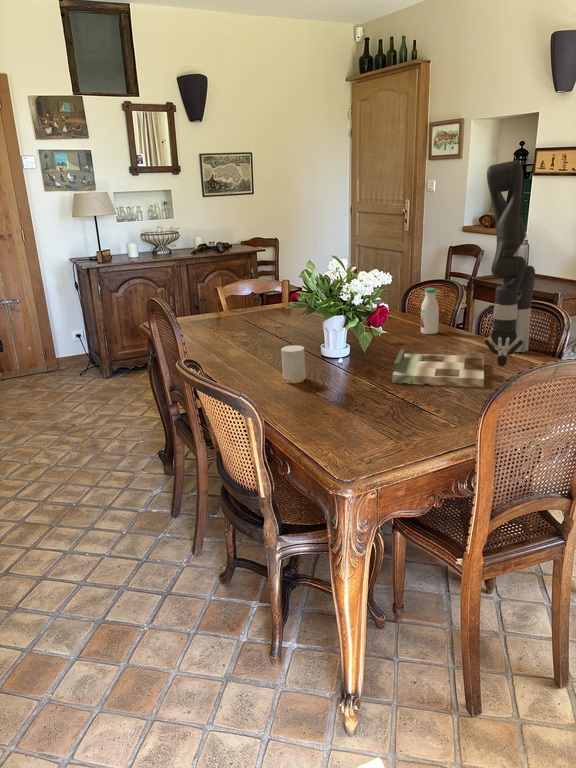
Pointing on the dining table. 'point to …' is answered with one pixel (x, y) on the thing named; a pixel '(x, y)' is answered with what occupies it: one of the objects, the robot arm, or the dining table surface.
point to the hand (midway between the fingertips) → (501, 365)
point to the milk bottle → (429, 312)
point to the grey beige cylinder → (293, 363)
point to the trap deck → (435, 370)
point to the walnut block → (473, 361)
